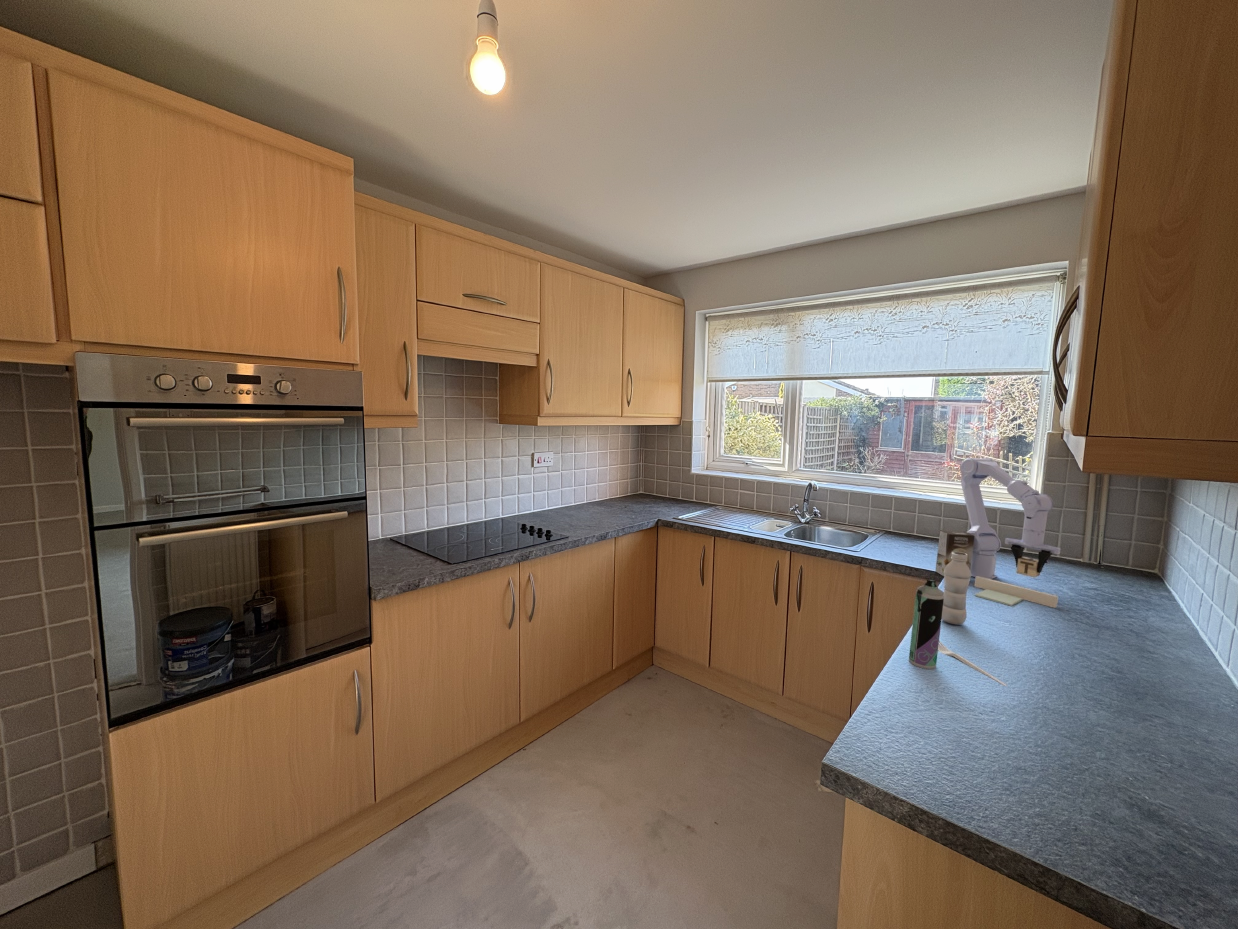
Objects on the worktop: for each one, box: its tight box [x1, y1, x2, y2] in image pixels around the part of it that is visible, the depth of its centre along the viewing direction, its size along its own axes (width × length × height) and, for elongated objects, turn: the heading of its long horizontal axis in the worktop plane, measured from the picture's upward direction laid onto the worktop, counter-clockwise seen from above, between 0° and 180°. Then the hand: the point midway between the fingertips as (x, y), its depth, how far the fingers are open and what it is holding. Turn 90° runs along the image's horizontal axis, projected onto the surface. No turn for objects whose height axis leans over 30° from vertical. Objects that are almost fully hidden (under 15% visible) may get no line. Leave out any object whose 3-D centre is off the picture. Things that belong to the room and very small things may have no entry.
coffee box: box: [934, 529, 974, 577], centre depth 188 cm, size 9×6×16 cm
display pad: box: [974, 589, 1023, 607], centre depth 165 cm, size 10×10×1 cm
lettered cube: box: [1016, 556, 1041, 578], centre depth 171 cm, size 5×5×5 cm
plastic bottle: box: [941, 552, 972, 626], centre depth 142 cm, size 6×7×20 cm
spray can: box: [908, 579, 944, 670], centre depth 117 cm, size 6×6×20 cm
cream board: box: [974, 576, 1059, 609], centre depth 168 cm, size 2×22×4 cm, turn 36°
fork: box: [938, 640, 1008, 687], centre depth 119 cm, size 3×20×2 cm, turn 12°
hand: (1028, 569), depth 171 cm, fingers closed on lettered cube, 5 cm apart
